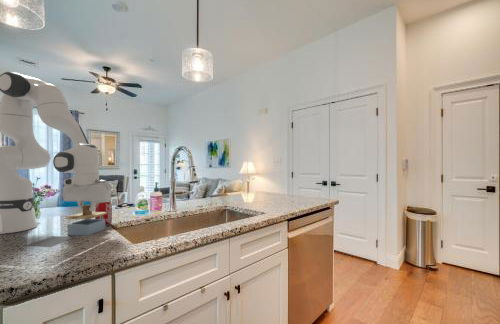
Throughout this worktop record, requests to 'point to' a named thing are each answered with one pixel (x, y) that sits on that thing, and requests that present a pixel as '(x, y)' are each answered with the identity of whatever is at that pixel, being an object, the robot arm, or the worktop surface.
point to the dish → (86, 227)
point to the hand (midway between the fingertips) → (87, 211)
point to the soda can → (104, 207)
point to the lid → (86, 214)
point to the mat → (50, 241)
